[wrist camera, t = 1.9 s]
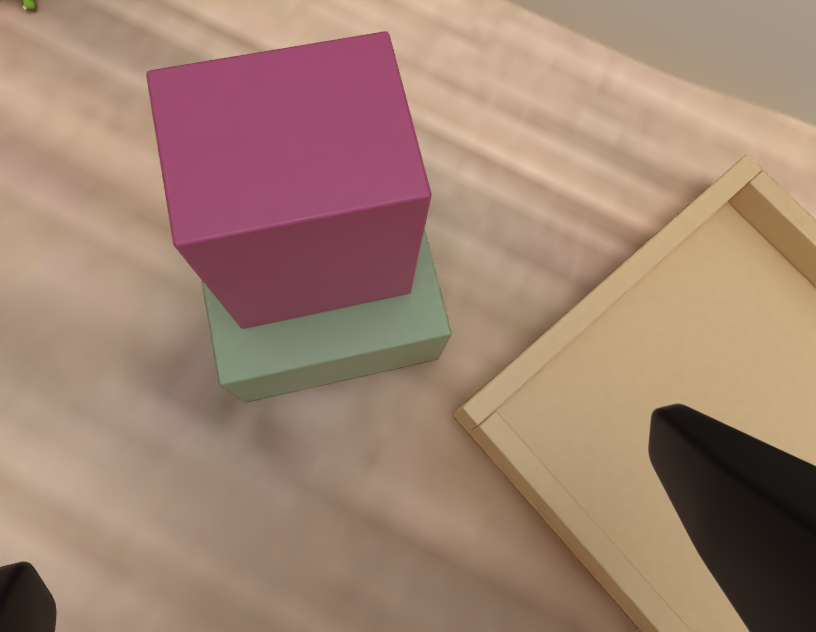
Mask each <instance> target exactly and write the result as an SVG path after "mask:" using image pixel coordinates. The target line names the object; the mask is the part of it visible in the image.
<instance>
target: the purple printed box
mask: <svg viewBox="0 0 816 632" xmlns="http://www.w3.org/2000/svg"><path fill="white" fill-rule="evenodd" d="M22 1H23V4H24V6H23V7H22V8H24V10H26V9H34V7H35V3H34V1H33V0H22Z"/></svg>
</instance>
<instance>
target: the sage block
mask: <svg viewBox="0 0 816 632" xmlns="http://www.w3.org/2000/svg"><path fill="white" fill-rule="evenodd" d="M202 285H203V291H204V297H205V303H206V309H207V315H208V321H209V327H210V333H211V339H212V345H213V351H214V356H215V362H216V368H217V374H218V380H219V384H220V386H222V387H223V388H225V389H226V390H228V391H229V392H231V393H232V394H234V395H235V396H237V397H238V398H240V399H241V400H243V401H244V402H249V401H253V400H258V399H262V398H267V397H271V396H276V395H280V394H285V393H289V392H294V391H298V390H303V389H307V388H311V387H316V386H320V385H325V384H329V383H334V382H338V381H343V380H347V379H352V378H356V377H361V376H365V375H370V374H374V373H378V372H383V371H387V370H392V369H396V368H401V367H405V366H410V365H414V364H419V363H423V362H428V361H432V360H437V359H438V358H439V356H440V355H441V353H442V351H443V349H444V347H445V345H446V343H447V341H448V340H449V338H450V336H451V329H450V325H449V321H448V317H447V313H446V310H445V306H444V302H443V298H442V294H441V290H440V286H439V282H438V279H437V275H436V271H435V267H434V263H433V259H432V255H431V251H430V247H429V244H428V240H427V236H426V232H425V228H424V233H423V238H422V243H421V247H420V252H419V257H418V262H417V266H416V271H415V276H414V281H413V285H412V290H411V293H410V294H406V295H401V296H396V297H391V298H387V299H382V300H377V301H372V302H368V303H363V304H358V305H354V306H349V307H344V308H339V309H335V310H330V311H325V312H320V313H316V314H311V315H306V316H302V317H297V318H292V319H287V320H283V321H278V322H273V323H268V324H264V325H259V326H254V327H250V328H245V329H242V328H241V327H240V326H239V325H238V324H237V322H236V321H235V320H234V319H233V318H232V316H231V315H230V314H229V313H228V311H227V310H226V309H225V308H224V307H223V305H222V304H221V303H220V302H219V300H218V299H217V298H216V297H215V295H214V294H213V293H212V292H211V291H210V289H209V288H208V287H207V286H206V284H205V283H204V282H203V281H202Z"/></svg>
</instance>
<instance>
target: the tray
mask: <svg viewBox="0 0 816 632" xmlns="http://www.w3.org/2000/svg"><path fill="white" fill-rule="evenodd" d="M761 170H762V168H761V167H760V166H759V165H758V164H757V163H756V162H755V161H754V160H753V159H752V158H751V157H750V156H748V155H745V156H744V157H742V158H741V159H740V160H739V161H738V162H737V163H736V164H734V165H733V166H732V167H731V168H730V169H729V170H728V171H727V172H725V173H724V174H723V175H722V176H721V177H720V178H719V179H717V180H716V181H715V182H714V183H713V184H712V185H711V186H710V187H708V188H707V189H706V190H705V191H704V192H703V193H702V194H701V195H699V196H698V197H697V198H696V199H695V200H694V201H693V202H692V203H690V204H689V205H688V206H687V207H686V208H685V209H684V210H682V211H681V212H680V213H679V214H678V215H677V216H676V217H675V218H673V219H672V220H671V221H670V222H669V223H668V224H667V225H666V226H664V227H663V228H662V229H661V230H660V231H659V232H658V233H656V234H655V235H654V236H653V237H652V238H651V239H650V240H649V241H647V242H646V243H645V244H644V245H643V246H642V247H641V248H640V249H638V250H637V251H636V252H635V253H634V254H633V255H632V256H631V257H629V258H628V259H627V260H626V261H625V262H624V263H623V264H621V265H620V266H619V267H618V268H617V269H616V270H615V271H614V272H612V273H611V274H610V275H609V276H608V277H607V278H606V279H605V280H603V281H602V282H601V283H600V284H599V285H598V286H597V287H596V288H594V289H593V290H592V291H591V292H590V293H589V294H588V295H586V296H585V297H584V298H583V299H582V300H581V301H580V302H579V303H577V304H576V305H575V306H574V307H573V308H572V309H571V310H570V311H568V312H567V313H566V314H565V315H564V316H563V317H562V318H561V319H559V320H558V321H557V322H556V323H555V324H554V325H553V326H551V327H550V328H549V329H548V330H547V331H546V332H545V333H544V334H542V335H541V336H540V337H539V338H538V339H537V340H536V341H535V342H533V343H532V344H531V345H530V346H529V347H528V348H527V349H525V350H524V351H523V352H522V353H521V354H520V355H519V356H518V357H516V358H515V359H514V360H513V361H512V362H511V363H510V364H509V365H507V366H506V367H505V368H504V369H503V370H502V371H501V372H500V373H498V374H497V375H496V376H495V377H494V378H493V379H492V380H490V381H489V382H488V383H487V384H486V385H485V386H484V387H483V388H481V389H480V390H479V391H478V392H477V393H476V394H475V395H474V396H472V397H471V398H470V399H469V400H468V401H467V402H466V403H465V404H463V405H462V406H461V407H460V408H459V409H458V410H457V411H455V412H454V414H453V415H454V417H455V418H456V419H457V421H458V422H459V423H460V424H461V425H462V426H463V427H464V429H465V430H466V431H467V432H468V433H469V434H470V435H471V437H472V438H473V439H474V440H475V441H476V442H477V443H478V445H479V446H480V447H481V448H482V449H483V450H484V452H485V453H486V454H487V455H488V456H489V457H490V458H491V460H492V461H493V462H494V463H495V464H496V465H497V466H498V468H499V469H500V470H501V471H502V472H503V473H504V474H505V476H506V477H507V478H508V479H509V480H510V481H511V482H512V484H513V485H514V486H515V487H516V488H517V489H518V490H519V492H520V493H521V494H522V495H523V496H524V497H525V499H526V500H527V501H528V502H529V503H530V504H531V505H532V507H533V508H534V509H535V510H536V511H537V512H538V513H539V515H540V516H541V517H542V518H543V519H544V520H545V521H546V523H547V524H548V525H549V526H550V527H551V528H552V529H553V531H554V532H555V533H556V534H557V535H558V536H559V537H560V539H561V540H562V541H563V542H564V543H565V544H566V546H567V547H568V548H569V549H570V550H571V551H572V552H573V554H574V555H575V556H576V557H577V558H578V559H579V560H580V562H581V563H582V564H583V565H584V566H585V567H586V568H587V570H588V571H589V572H590V573H591V574H592V575H593V576H594V578H595V579H596V580H597V581H598V582H599V583H600V585H601V586H602V587H603V588H604V589H605V590H606V591H607V593H608V594H609V595H610V596H611V597H612V598H613V599H614V601H615V602H616V603H617V604H618V605H619V606H620V607H621V609H622V610H623V611H624V612H625V613H626V614H627V615H628V617H629V618H630V619H631V620H632V621H633V622H634V623H635V625H636V626H637V627H638V628H639V629H640V630H641V632H749V630H748V629H747V627H746V626H745V624H744V623H743V621H742V620H741V618H740V617H739V615H738V614H737V612H736V611H735V609H734V607H733V606H732V604H731V603H730V601H729V600H728V598H727V597H726V595H725V594H724V592H723V591H722V589H721V588H720V586H719V585H718V583H717V582H716V580H715V579H714V577H713V576H712V574H711V573H710V571H709V570H708V568H707V567H706V565H705V563H704V562H703V560H702V559H701V557H700V555H699V554H698V552H697V550H696V549H695V547H694V545H693V543H692V541H691V539H690V538H689V536H688V534H687V532H686V530H685V528H684V526H683V524H682V522H681V520H680V518H679V516H678V514H677V512H676V511H675V509H674V507H673V505H672V503H671V501H670V499H669V497H668V495H667V493H666V491H665V489H664V487H663V485H662V484H661V482H660V480H659V478H658V476H657V474H656V472H655V470H654V468H653V466H652V464H651V461H650V458H649V453H648V444H649V433H650V421H651V414H652V412H653V411H654V410H655V409H656V408H659V407H663V406H667V405H672V404H677V403H680V404H683V405H686V406H688V407H690V408H692V409H695V410H697V411H699V412H701V413H703V414H705V415H708V416H710V417H712V418H714V419H716V420H718V421H720V422H723V423H725V424H727V425H729V426H731V427H733V428H735V429H738V430H740V431H742V432H744V433H746V434H748V435H750V436H753V437H755V438H757V439H759V440H761V441H763V442H765V443H768V444H770V445H772V446H774V447H776V448H778V449H781V450H783V451H785V452H787V453H789V454H791V455H793V456H796V457H798V458H800V459H802V460H804V461H806V462H808V463H811V464H813V465H815V466H816V220H815V219H814V218H813V217H812V216H811V215H810V214H809V213H808V212H807V211H806V210H805V209H804V208H803V207H802V206H801V205H800V204H799V203H798V202H796V201H795V200H794V199H793V198H792V197H791V196H790V195H789V194H788V193H787V192H786V191H785V190H784V189H783V188H782V187H781V186H780V185H779V184H778V183H777V182H776V181H775V180H774V179H772V178H771V177H770V176H769V175H768V174H767V173H766V172H765V171H764V170H763V171H761Z"/></svg>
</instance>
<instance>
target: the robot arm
mask: <svg viewBox="0 0 816 632" xmlns="http://www.w3.org/2000/svg"><path fill="white" fill-rule="evenodd" d="M648 453H649V458H650V461H651V464H652V466H653V468H654V470H655V472H656V474H657V476H658V478H659V480H660V482H661V484H662V485H663V487H664V489H665V491H666V493H667V495H668V497H669V499H670V501H671V503H672V505H673V507H674V509H675V511H676V512H677V514H678V516H679V518H680V520H681V522H682V524H683V526H684V528H685V530H686V532H687V534H688V536H689V538H690V539H691V541H692V543H693V545H694V547H695V549H696V550H697V552H698V554H699V555H700V557H701V559H702V560H703V562H704V563H705V565H706V567H707V568H708V570H709V571H710V573H711V574H712V576H713V577H714V579H715V580H716V582H717V583H718V585H719V586H720V588H721V589H722V591H723V592H724V594H725V595H726V597H727V598H728V600H729V601H730V603H731V604H732V606H733V607H734V609H735V611H736V612H737V614H738V615H739V617H740V618H741V620H742V621H743V623H744V624H745V626H746V627H747V629H748V630H749V632H816V466H815V465H813V464H811V463H808V462H806V461H804V460H802V459H800V458H798V457H796V456H793V455H791V454H789V453H787V452H785V451H783V450H781V449H778V448H776V447H774V446H772V445H770V444H768V443H765V442H763V441H761V440H759V439H757V438H755V437H753V436H750V435H748V434H746V433H744V432H742V431H740V430H738V429H735V428H733V427H731V426H729V425H727V424H725V423H723V422H720V421H718V420H716V419H714V418H712V417H710V416H708V415H705V414H703V413H701V412H699V411H697V410H695V409H692V408H690V407H688V406H686V405H683V404H680V403H677V404H672V405H667V406H663V407H659V408H656V409H655V410H654V411H653V412H652V414H651V421H650V433H649V444H648ZM55 626H56V604H55V601H54V598H53V596H52V594H51V593H50V591H49V590H48V588H47V587H46V585H45V584H44V582H43V580H42V579H41V577H40V576H39V574H38V573H37V571H36V570H35V568H34V567H33V566H32V564H30V563H28V562H18V563H14V564H10V565H6V566H2V567H0V632H55Z"/></svg>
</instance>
